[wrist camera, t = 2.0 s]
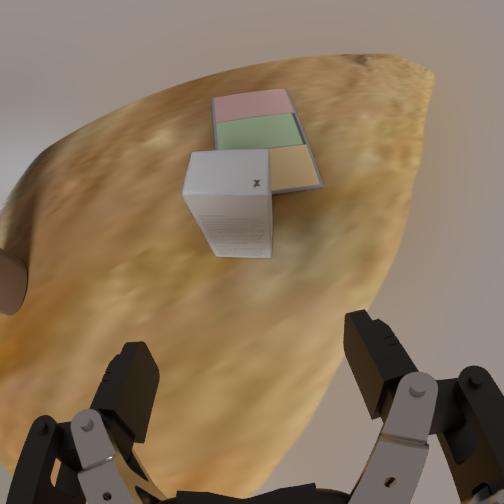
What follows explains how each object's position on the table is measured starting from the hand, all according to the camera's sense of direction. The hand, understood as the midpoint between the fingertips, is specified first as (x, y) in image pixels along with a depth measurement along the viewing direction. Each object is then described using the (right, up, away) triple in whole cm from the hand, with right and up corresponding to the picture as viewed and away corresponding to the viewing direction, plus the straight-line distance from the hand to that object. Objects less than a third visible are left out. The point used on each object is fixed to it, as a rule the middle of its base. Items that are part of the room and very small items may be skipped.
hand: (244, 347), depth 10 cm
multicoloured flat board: (+1, +19, +25) cm, 31 cm away
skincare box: (-1, +5, +19) cm, 20 cm away
